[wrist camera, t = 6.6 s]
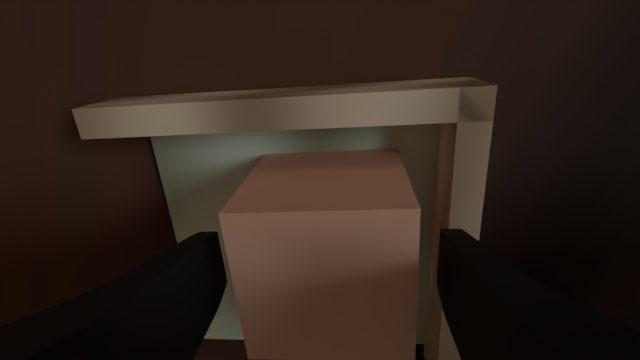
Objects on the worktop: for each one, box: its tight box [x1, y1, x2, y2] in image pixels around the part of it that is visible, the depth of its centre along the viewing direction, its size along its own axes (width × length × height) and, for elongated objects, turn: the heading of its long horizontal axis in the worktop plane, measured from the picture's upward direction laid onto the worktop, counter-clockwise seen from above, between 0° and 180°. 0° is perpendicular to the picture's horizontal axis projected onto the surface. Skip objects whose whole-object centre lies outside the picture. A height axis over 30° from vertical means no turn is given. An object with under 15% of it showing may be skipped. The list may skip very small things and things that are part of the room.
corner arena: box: [72, 77, 497, 360], centre depth 14 cm, size 13×13×2 cm
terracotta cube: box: [218, 148, 421, 360], centre depth 12 cm, size 5×5×5 cm
